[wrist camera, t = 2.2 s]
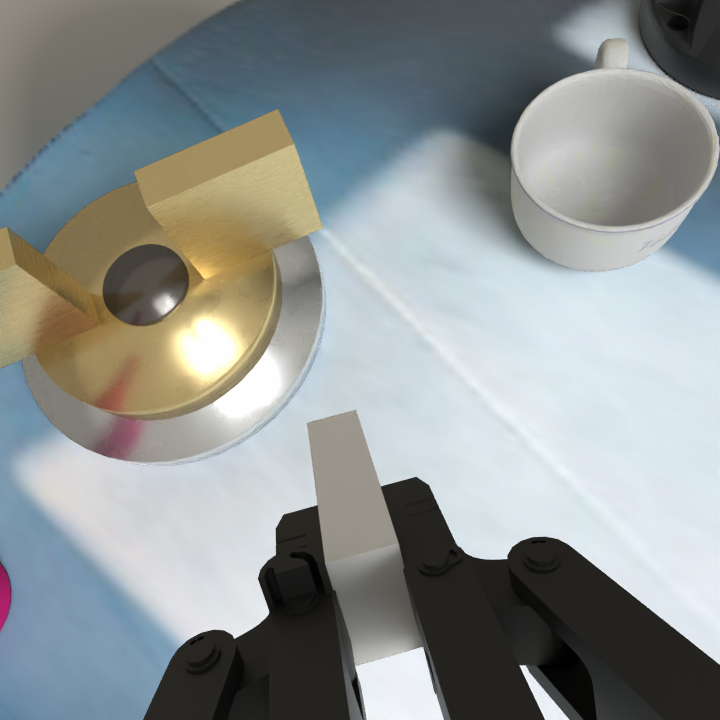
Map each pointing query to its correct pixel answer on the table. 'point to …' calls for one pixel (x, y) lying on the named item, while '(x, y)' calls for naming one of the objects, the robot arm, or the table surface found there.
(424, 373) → the table surface
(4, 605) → the pepper mill
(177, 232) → the gold twin-plate stand
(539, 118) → the teacup
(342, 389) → the table surface
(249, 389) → the silver round plate
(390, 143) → the table surface
